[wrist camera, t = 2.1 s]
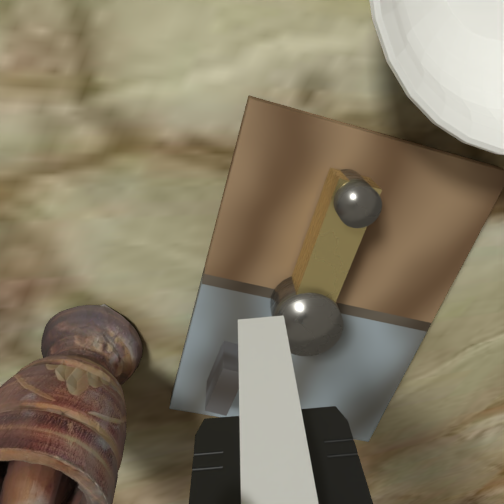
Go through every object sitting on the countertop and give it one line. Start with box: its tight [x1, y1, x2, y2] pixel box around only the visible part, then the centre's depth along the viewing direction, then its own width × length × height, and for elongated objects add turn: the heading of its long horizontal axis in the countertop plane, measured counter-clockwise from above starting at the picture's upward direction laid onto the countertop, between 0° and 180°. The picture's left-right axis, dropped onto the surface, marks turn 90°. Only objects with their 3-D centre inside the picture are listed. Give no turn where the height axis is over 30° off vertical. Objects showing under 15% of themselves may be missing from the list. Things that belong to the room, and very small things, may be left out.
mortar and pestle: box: [0, 304, 143, 504], centre depth 25 cm, size 12×9×20 cm
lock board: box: [169, 96, 504, 442], centre depth 31 cm, size 17×24×5 cm
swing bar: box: [270, 167, 382, 356], centre depth 28 cm, size 12×4×4 cm, turn 165°
